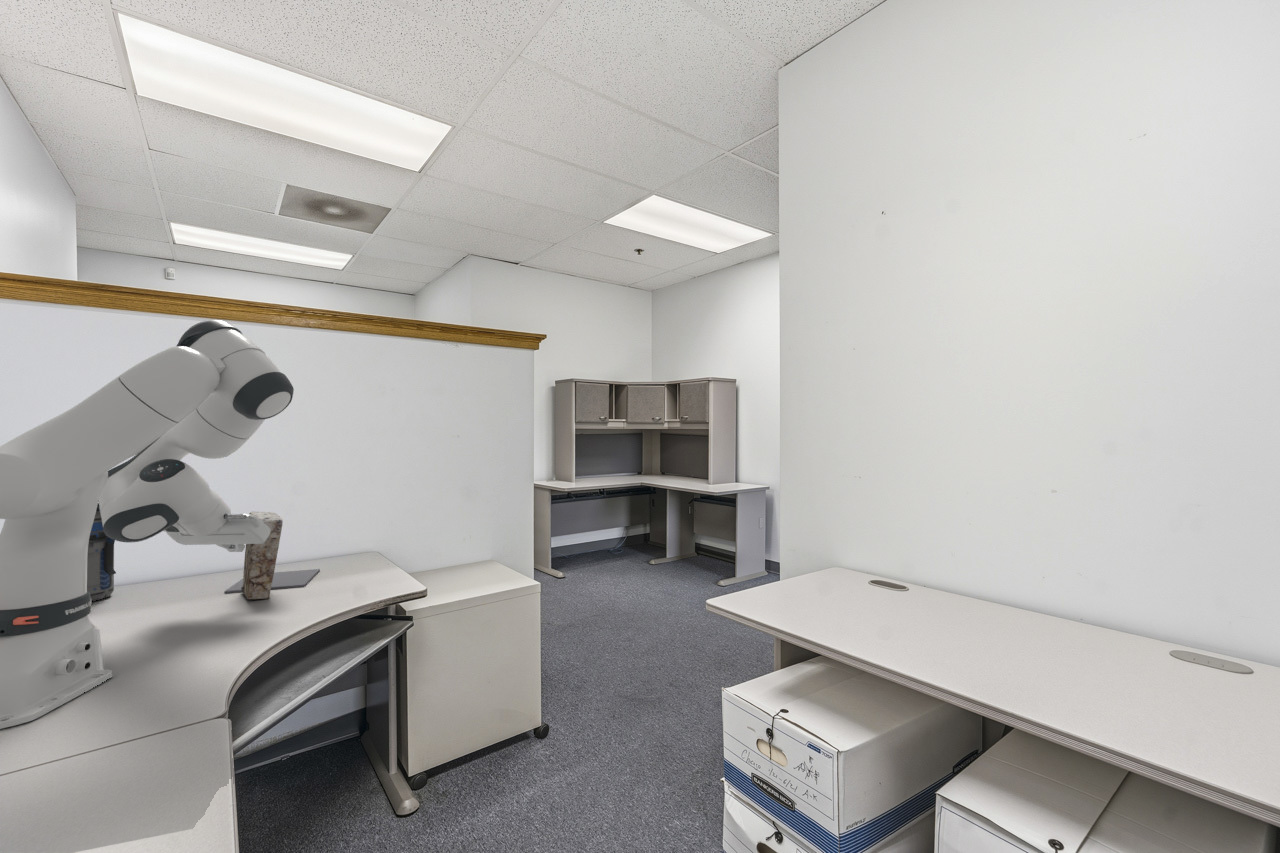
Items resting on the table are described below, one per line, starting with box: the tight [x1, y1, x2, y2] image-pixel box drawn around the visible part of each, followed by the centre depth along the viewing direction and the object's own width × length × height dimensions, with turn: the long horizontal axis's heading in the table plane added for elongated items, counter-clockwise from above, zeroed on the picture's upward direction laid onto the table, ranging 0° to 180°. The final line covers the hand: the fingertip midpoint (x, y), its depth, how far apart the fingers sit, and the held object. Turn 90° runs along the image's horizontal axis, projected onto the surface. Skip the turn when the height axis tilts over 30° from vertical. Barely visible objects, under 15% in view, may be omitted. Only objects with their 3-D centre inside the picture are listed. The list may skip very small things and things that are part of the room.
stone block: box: [241, 511, 283, 600], centre depth 139 cm, size 13×7×20 cm, turn 47°
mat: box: [223, 568, 321, 594], centre depth 152 cm, size 18×18×1 cm
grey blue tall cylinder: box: [87, 502, 117, 603], centre depth 136 cm, size 10×13×25 cm
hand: (237, 549), depth 132 cm, fingers closed
